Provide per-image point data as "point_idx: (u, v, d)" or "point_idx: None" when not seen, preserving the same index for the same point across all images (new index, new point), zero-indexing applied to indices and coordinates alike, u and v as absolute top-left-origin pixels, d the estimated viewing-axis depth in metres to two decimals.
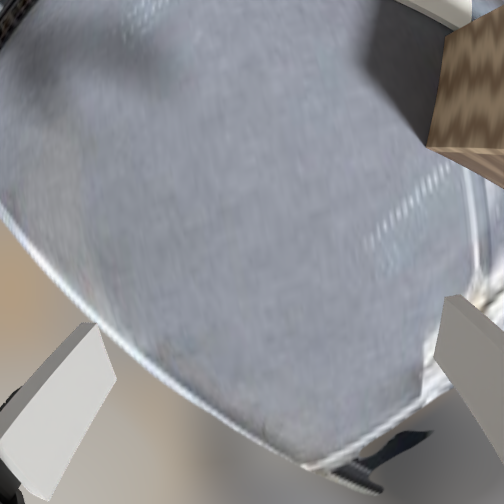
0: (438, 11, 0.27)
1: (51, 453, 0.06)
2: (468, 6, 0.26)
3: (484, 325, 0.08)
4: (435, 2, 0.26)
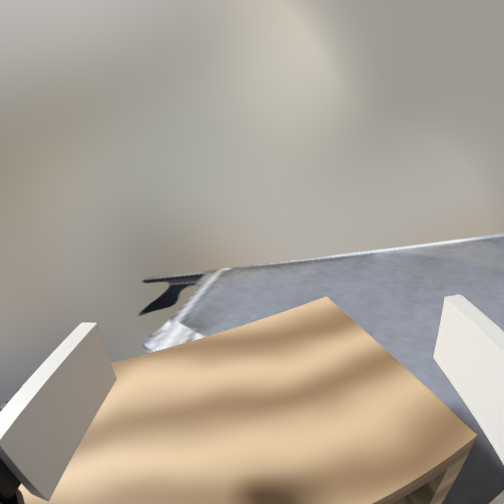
0: None
1: (51, 453, 0.06)
2: None
3: (484, 325, 0.08)
4: None
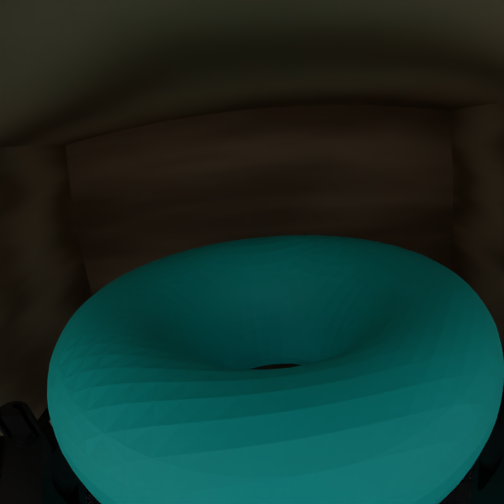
0: None
1: None
2: None
3: None
4: None
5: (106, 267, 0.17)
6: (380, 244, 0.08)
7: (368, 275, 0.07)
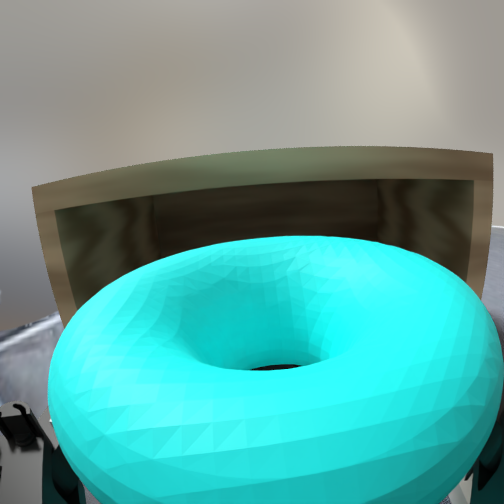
0: None
1: None
2: None
3: None
4: None
5: None
6: (380, 245, 0.08)
7: (368, 277, 0.07)
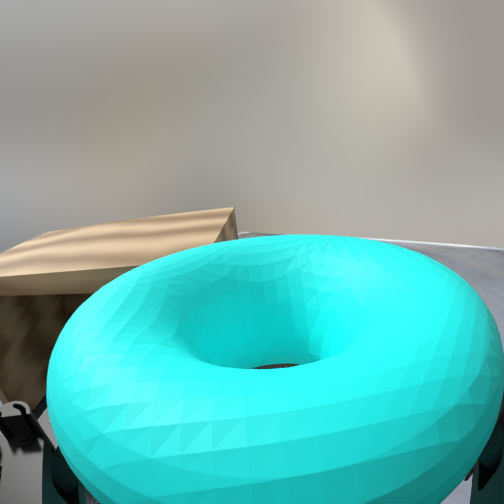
0: None
1: None
2: None
3: None
4: None
5: (73, 301, 0.36)
6: (380, 244, 0.08)
7: (368, 275, 0.07)
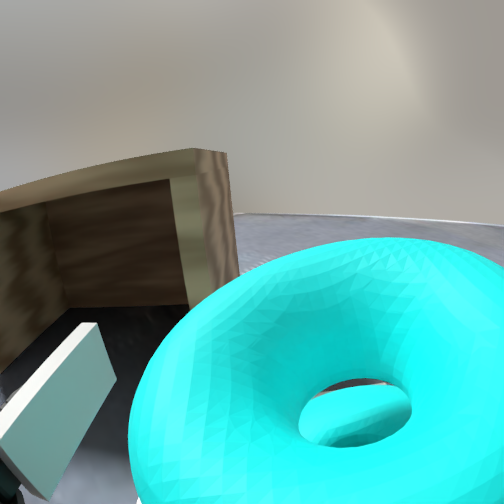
0: None
1: (51, 453, 0.06)
2: None
3: None
4: None
5: (64, 254, 0.35)
6: (445, 250, 0.07)
7: (441, 296, 0.06)
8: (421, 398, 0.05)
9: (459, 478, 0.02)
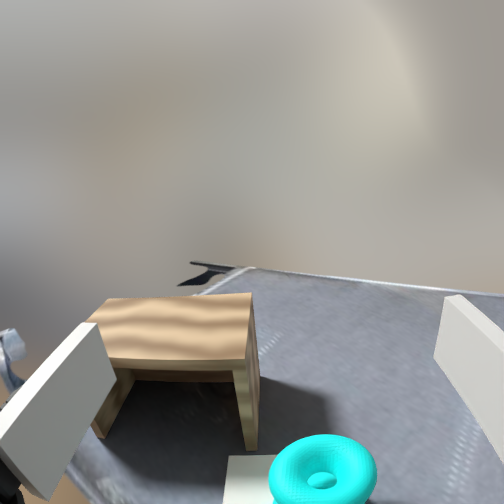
0: (272, 459, 0.34)
1: (51, 453, 0.06)
2: (229, 488, 0.30)
3: (484, 325, 0.08)
4: None
5: None
6: (359, 452, 0.23)
7: (350, 464, 0.23)
8: (337, 483, 0.22)
9: (331, 497, 0.19)
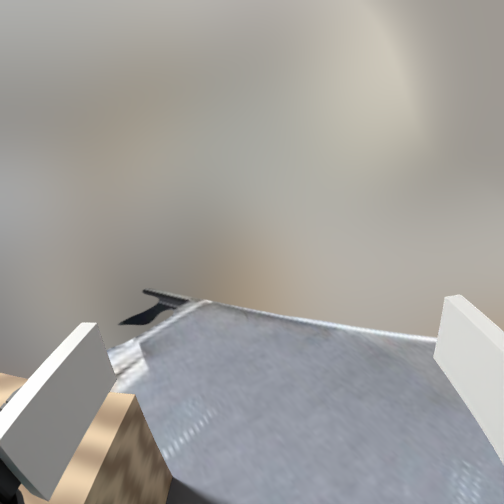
0: None
1: (51, 453, 0.06)
2: None
3: (484, 325, 0.08)
4: None
5: None
6: None
7: None
8: None
9: None
